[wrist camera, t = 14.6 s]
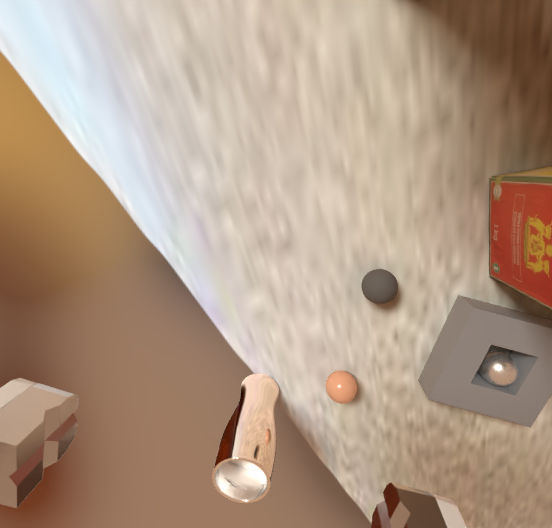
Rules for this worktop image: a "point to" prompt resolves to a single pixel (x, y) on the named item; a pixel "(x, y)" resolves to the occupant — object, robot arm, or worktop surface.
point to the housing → (471, 351)
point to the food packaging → (522, 232)
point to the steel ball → (499, 369)
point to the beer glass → (248, 443)
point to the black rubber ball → (379, 286)
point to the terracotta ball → (341, 387)
